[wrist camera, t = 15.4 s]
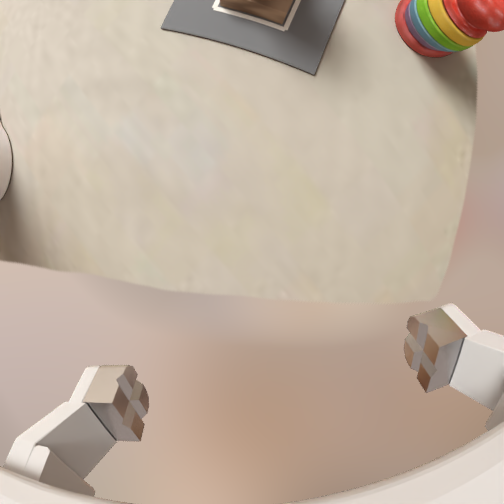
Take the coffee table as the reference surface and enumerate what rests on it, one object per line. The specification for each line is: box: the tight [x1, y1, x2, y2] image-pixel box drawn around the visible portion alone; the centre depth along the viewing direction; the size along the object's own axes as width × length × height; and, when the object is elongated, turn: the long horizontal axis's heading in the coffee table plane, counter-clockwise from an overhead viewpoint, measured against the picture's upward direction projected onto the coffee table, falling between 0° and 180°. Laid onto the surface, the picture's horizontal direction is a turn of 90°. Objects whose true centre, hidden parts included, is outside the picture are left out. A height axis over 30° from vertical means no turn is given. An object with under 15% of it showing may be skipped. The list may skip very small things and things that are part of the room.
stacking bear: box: [395, 0, 504, 57], centre depth 20 cm, size 11×10×18 cm
